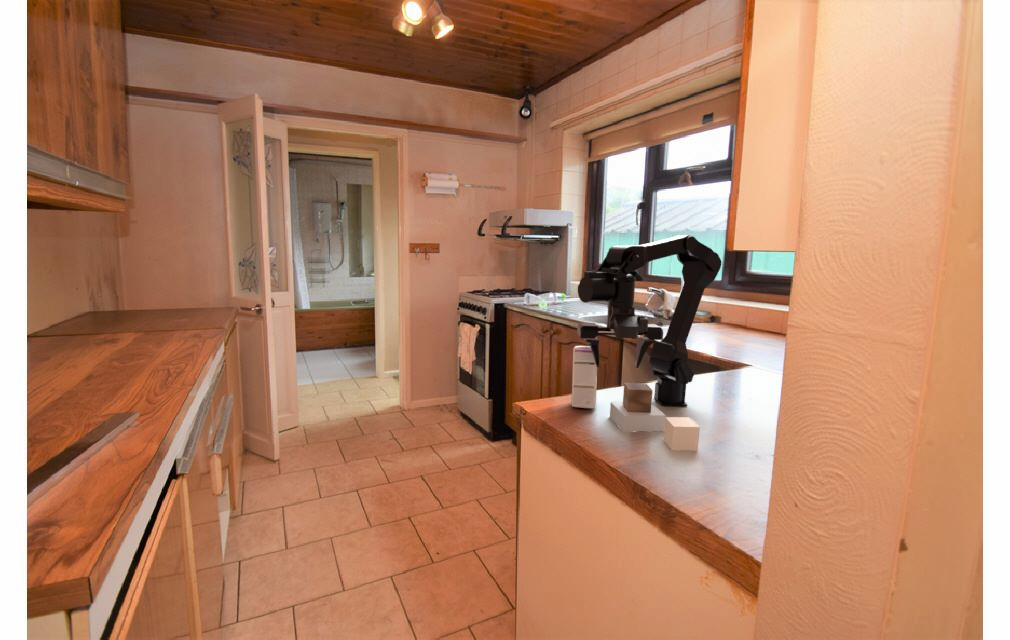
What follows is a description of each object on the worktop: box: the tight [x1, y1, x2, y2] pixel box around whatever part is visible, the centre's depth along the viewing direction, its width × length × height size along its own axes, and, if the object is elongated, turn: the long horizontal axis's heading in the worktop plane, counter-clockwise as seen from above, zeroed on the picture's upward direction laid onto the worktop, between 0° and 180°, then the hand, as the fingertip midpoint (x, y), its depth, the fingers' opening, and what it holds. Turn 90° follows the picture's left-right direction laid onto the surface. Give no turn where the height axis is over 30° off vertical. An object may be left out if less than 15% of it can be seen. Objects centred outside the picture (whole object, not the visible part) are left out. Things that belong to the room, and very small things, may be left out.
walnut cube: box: [622, 382, 654, 413], centre depth 102 cm, size 5×5×5 cm
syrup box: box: [571, 345, 598, 409], centre depth 113 cm, size 6×6×14 cm
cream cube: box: [663, 416, 701, 452], centre depth 92 cm, size 5×5×5 cm
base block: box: [609, 401, 667, 433], centre depth 103 cm, size 9×9×4 cm
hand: (617, 367), depth 109 cm, fingers open, 9 cm apart
